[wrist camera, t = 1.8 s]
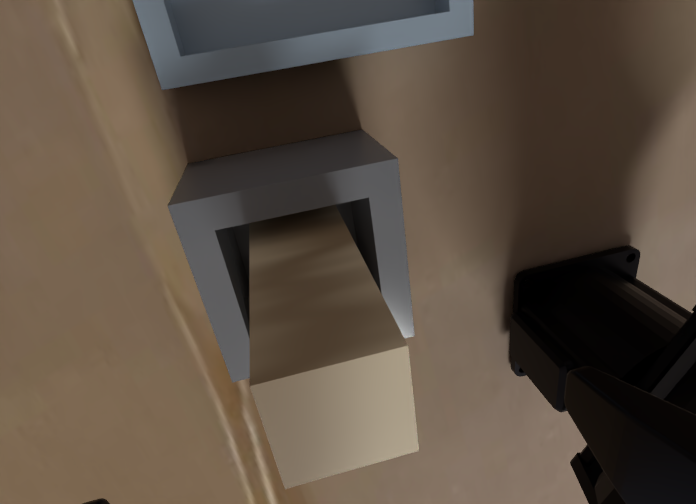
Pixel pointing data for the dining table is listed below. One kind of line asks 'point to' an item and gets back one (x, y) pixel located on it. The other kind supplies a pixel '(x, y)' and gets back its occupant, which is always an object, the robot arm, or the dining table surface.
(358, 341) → the peg
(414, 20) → the grey flat frame
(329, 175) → the block with square hole
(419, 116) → the dining table surface
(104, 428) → the dining table surface
